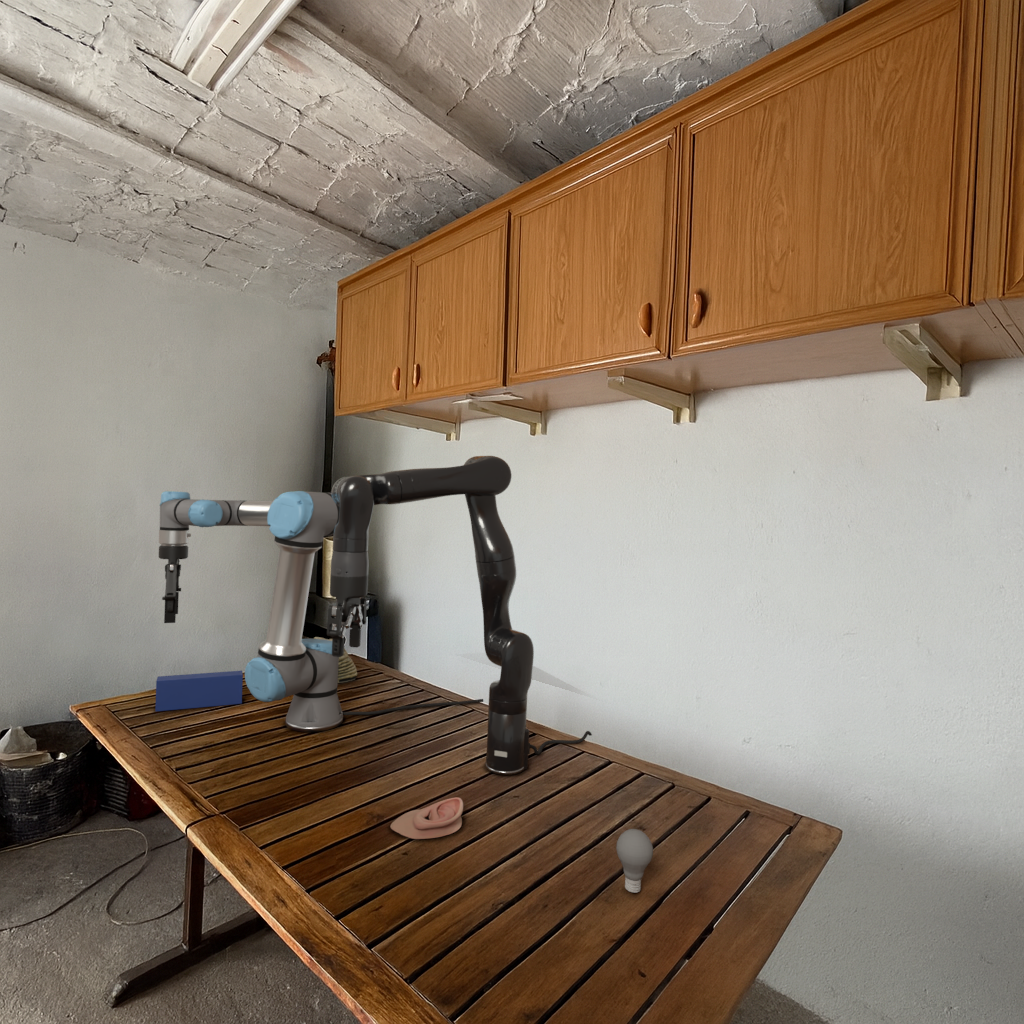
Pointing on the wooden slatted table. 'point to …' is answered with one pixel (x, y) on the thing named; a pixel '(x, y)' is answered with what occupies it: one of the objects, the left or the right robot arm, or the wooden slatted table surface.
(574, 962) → the wooden slatted table surface
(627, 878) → the light bulb
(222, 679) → the bar
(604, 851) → the wooden slatted table surface
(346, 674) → the fossil
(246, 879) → the wooden slatted table surface
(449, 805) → the anatomical model
